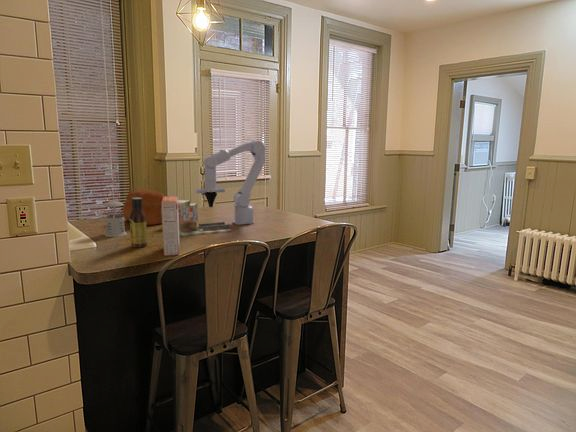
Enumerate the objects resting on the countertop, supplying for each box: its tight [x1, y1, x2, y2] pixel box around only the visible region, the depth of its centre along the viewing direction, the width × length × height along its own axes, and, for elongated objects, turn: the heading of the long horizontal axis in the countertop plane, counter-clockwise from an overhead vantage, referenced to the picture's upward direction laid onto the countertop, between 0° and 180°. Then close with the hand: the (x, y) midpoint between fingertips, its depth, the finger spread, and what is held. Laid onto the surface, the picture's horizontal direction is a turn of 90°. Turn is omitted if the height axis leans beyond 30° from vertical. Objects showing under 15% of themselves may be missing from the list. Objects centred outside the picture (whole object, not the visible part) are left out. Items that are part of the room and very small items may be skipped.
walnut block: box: [179, 221, 198, 232], centre depth 193 cm, size 7×5×4 cm, turn 119°
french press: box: [103, 179, 128, 238], centre depth 185 cm, size 10×12×25 cm
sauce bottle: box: [129, 197, 148, 248], centre depth 166 cm, size 7×6×20 cm
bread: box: [122, 188, 165, 226], centre depth 215 cm, size 18×21×17 cm
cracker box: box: [161, 195, 181, 257], centre depth 159 cm, size 14×6×21 cm, turn 13°
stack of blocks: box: [178, 199, 199, 222], centre depth 213 cm, size 21×6×12 cm, turn 169°
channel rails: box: [198, 221, 230, 231], centre depth 200 cm, size 13×8×2 cm, turn 119°
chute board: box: [179, 226, 233, 237], centre depth 197 cm, size 24×14×1 cm, turn 119°
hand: (210, 206), depth 210 cm, fingers closed
